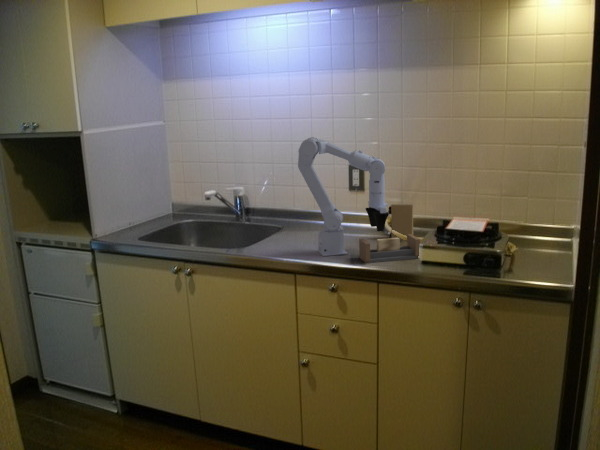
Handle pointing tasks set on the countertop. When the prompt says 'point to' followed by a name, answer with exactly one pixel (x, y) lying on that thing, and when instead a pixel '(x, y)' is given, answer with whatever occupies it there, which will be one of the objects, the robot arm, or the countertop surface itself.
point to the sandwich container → (402, 219)
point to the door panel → (388, 244)
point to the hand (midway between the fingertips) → (376, 228)
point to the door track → (404, 253)
